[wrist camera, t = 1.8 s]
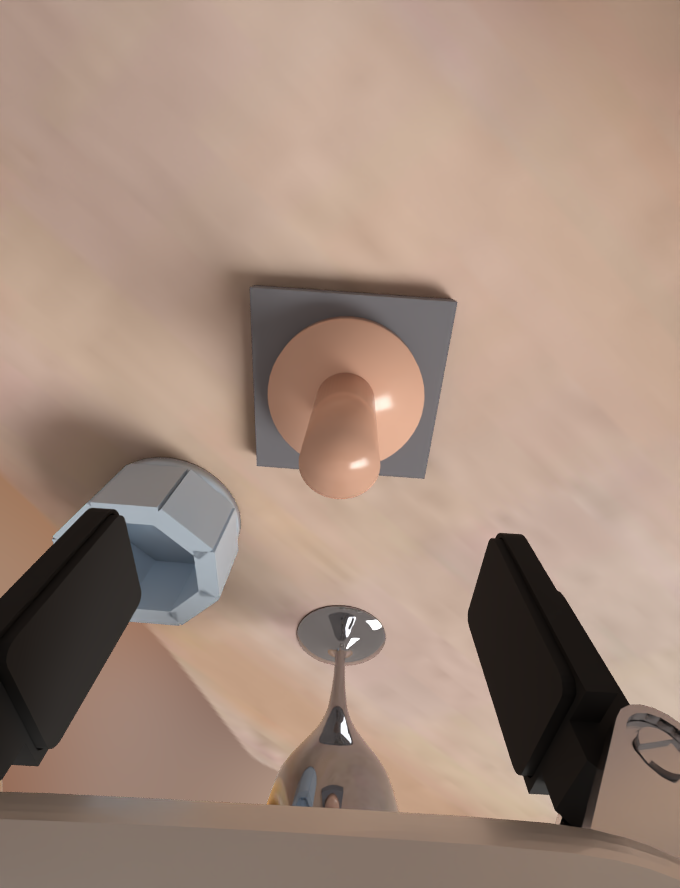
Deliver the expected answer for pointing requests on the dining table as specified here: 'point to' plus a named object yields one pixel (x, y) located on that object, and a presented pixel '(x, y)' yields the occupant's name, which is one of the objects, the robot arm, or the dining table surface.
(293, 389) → the lid
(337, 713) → the wine glass
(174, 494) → the bowl
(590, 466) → the dining table surface
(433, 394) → the mat
